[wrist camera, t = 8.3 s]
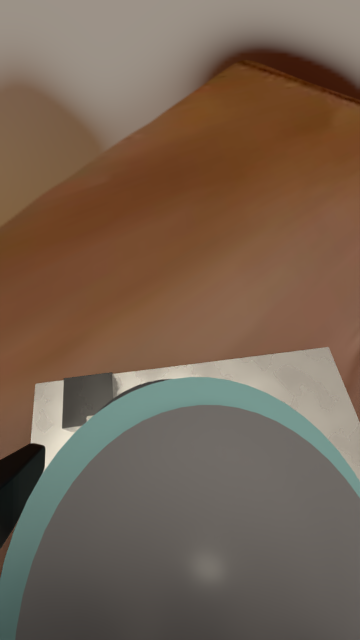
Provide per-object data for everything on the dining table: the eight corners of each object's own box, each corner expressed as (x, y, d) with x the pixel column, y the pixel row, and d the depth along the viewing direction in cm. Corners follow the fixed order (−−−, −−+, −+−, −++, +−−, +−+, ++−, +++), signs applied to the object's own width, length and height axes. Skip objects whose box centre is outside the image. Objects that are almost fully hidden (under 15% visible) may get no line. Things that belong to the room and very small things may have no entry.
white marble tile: (437, 640, 15) (541, 707, 11) (13, 758, 13) (-60, 905, 8) (321, 351, 23) (357, 326, 19) (41, 387, 20) (9, 367, 16)
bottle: (248, 521, 14) (615, 770, 3) (144, 591, 13) (-2, 1741, 1) (195, 415, 17) (277, 308, 5) (101, 464, 15) (-92, 474, 4)
